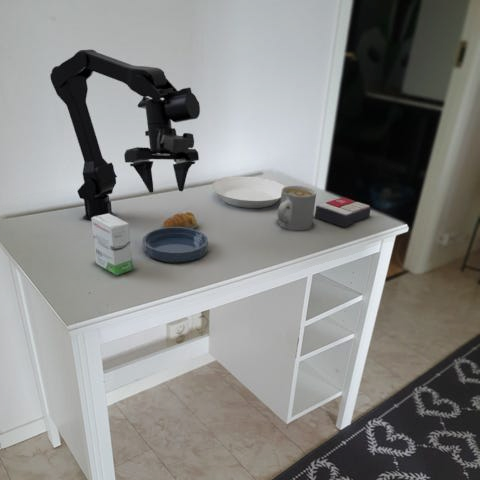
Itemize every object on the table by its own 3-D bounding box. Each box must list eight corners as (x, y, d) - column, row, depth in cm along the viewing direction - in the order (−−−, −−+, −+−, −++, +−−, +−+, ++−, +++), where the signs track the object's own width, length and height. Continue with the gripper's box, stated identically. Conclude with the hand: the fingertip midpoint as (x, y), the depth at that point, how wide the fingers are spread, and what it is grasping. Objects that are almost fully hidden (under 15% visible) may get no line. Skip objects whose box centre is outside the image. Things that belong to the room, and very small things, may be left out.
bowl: (277, 216, 150) (278, 205, 148) (200, 204, 155) (200, 193, 153) (292, 192, 171) (294, 182, 169) (224, 182, 176) (224, 172, 174)
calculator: (372, 205, 153) (347, 213, 143) (369, 218, 155) (344, 227, 145) (342, 196, 159) (316, 203, 149) (339, 208, 161) (313, 217, 151)
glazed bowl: (134, 259, 120) (133, 247, 119) (156, 234, 134) (155, 223, 132) (198, 267, 118) (198, 256, 117) (213, 241, 132) (214, 231, 130)
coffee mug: (295, 215, 152) (299, 183, 147) (318, 226, 146) (323, 193, 140) (262, 223, 145) (265, 190, 139) (285, 235, 138) (289, 201, 133)
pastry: (171, 235, 134) (170, 221, 132) (158, 227, 138) (157, 214, 136) (199, 228, 139) (199, 215, 137) (186, 220, 144) (186, 208, 142)
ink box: (133, 270, 115) (130, 222, 109) (115, 276, 112) (111, 228, 106) (113, 257, 120) (108, 211, 114) (95, 263, 117) (89, 216, 111)
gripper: (146, 116, 107) (154, 190, 110) (210, 121, 119) (216, 188, 123) (119, 125, 114) (127, 194, 118) (181, 129, 127) (188, 191, 131)
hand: (166, 191), depth 122 cm, fingers open, 9 cm apart
